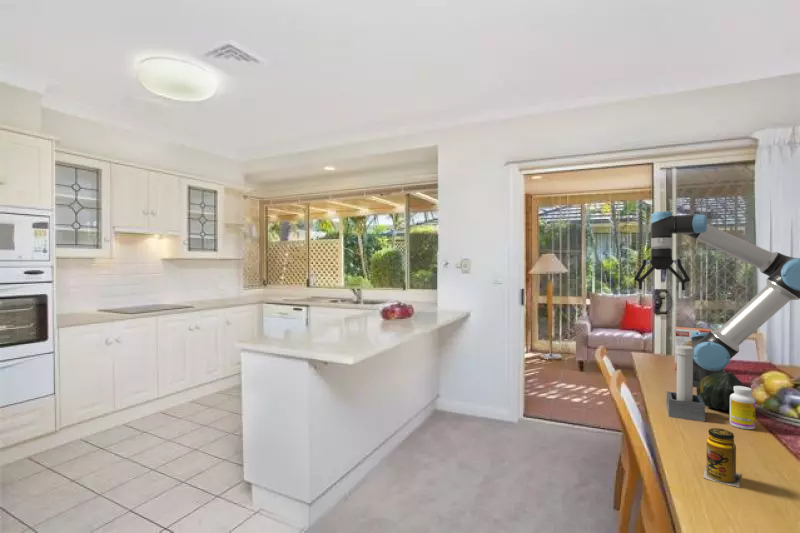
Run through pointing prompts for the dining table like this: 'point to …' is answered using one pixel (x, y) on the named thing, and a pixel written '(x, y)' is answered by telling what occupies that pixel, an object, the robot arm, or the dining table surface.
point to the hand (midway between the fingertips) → (661, 297)
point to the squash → (718, 389)
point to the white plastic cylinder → (684, 372)
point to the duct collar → (686, 407)
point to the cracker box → (685, 337)
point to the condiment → (721, 457)
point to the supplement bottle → (742, 408)
